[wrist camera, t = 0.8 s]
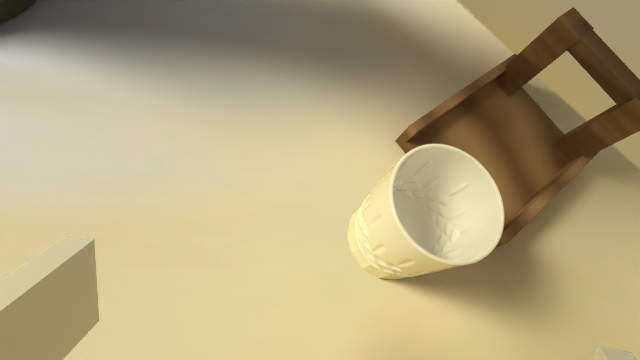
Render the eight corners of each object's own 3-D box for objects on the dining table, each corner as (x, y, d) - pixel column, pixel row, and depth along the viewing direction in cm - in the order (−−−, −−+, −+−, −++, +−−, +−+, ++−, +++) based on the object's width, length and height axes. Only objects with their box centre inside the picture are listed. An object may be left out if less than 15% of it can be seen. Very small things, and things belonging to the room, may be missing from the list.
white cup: (365, 303, 33) (428, 285, 24) (324, 210, 35) (368, 163, 26) (444, 265, 36) (526, 237, 27) (402, 182, 38) (466, 130, 29)
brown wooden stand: (485, 250, 37) (576, 219, 28) (395, 140, 39) (454, 78, 30) (576, 161, 44) (673, 113, 35) (496, 71, 46) (569, 3, 37)
